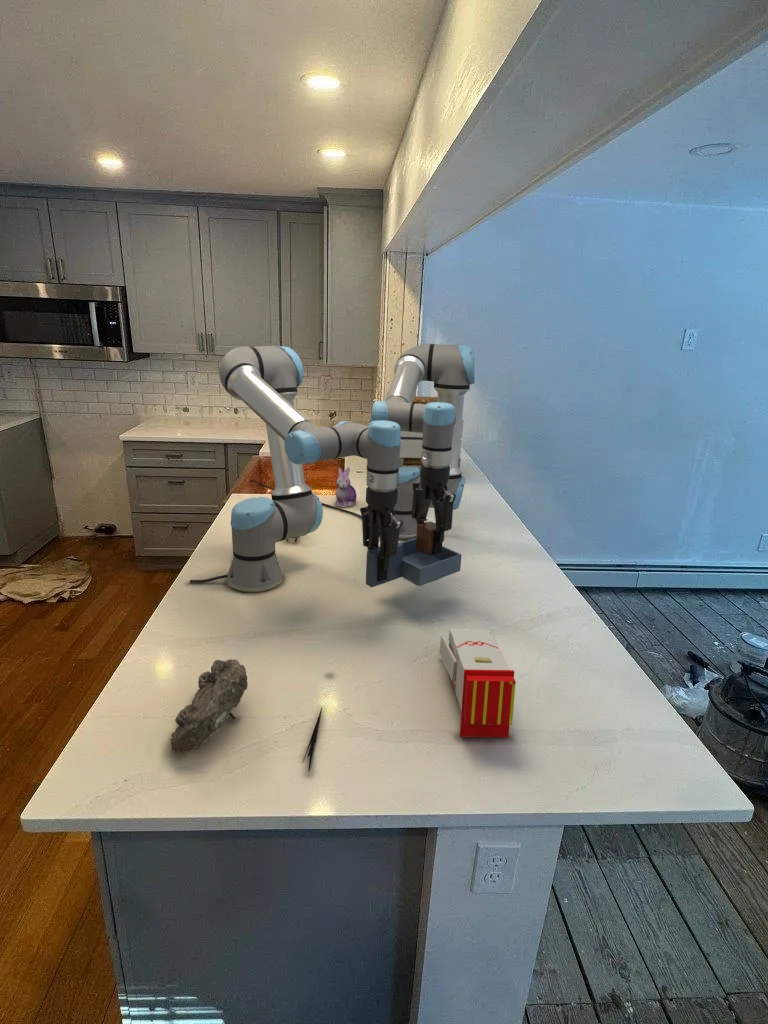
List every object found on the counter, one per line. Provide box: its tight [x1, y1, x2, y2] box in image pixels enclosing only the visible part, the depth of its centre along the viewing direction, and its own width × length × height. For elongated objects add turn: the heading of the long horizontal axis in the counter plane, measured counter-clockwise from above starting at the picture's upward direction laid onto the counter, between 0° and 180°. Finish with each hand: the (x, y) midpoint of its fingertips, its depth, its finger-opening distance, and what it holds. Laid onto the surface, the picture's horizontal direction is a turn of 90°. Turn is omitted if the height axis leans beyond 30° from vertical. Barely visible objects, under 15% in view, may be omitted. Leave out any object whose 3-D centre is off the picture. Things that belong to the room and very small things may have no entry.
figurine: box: [335, 466, 357, 508], centre depth 225 cm, size 9×10×15 cm
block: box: [416, 521, 444, 555], centre depth 150 cm, size 5×5×7 cm
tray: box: [365, 538, 462, 588], centre depth 146 cm, size 15×25×9 cm, turn 131°
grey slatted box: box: [399, 395, 464, 469], centre depth 268 cm, size 34×33×41 cm
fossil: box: [170, 658, 249, 753], centre depth 106 cm, size 22×10×15 cm
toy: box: [438, 628, 517, 738], centre depth 117 cm, size 12×13×30 cm
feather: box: [301, 673, 332, 771], centre depth 108 cm, size 2×28×2 cm
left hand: (378, 577), depth 142 cm, fingers closed on tray, 2 cm apart
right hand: (429, 549), depth 151 cm, fingers closed on block, 5 cm apart
